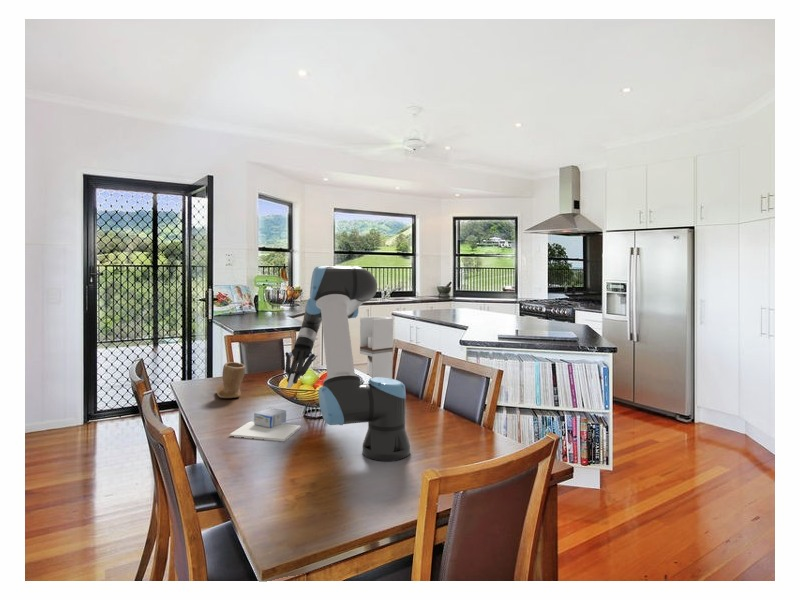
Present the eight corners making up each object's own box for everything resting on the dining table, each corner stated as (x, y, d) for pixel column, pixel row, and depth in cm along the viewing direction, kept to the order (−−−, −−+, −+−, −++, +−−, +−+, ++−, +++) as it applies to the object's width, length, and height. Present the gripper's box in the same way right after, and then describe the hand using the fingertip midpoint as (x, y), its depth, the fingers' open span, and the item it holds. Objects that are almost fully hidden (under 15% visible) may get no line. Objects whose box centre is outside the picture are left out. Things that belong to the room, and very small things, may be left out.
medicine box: (270, 418, 178) (253, 424, 170) (270, 406, 178) (253, 412, 170) (286, 421, 175) (270, 428, 167) (286, 409, 174) (270, 416, 167)
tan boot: (246, 398, 207) (246, 365, 206) (217, 401, 202) (217, 366, 201) (243, 390, 221) (243, 358, 220) (216, 392, 216) (216, 360, 215)
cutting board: (284, 441, 157) (284, 439, 157) (229, 436, 161) (229, 434, 161) (300, 427, 171) (300, 425, 171) (250, 423, 174) (249, 421, 174)
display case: (378, 386, 232) (379, 316, 229) (392, 391, 224) (393, 318, 221) (359, 390, 224) (360, 317, 222) (372, 395, 216) (373, 319, 214)
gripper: (322, 347, 201) (307, 395, 186) (293, 345, 203) (276, 393, 188) (317, 336, 195) (302, 385, 180) (288, 335, 198) (270, 383, 182)
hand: (289, 389), depth 184 cm, fingers closed
